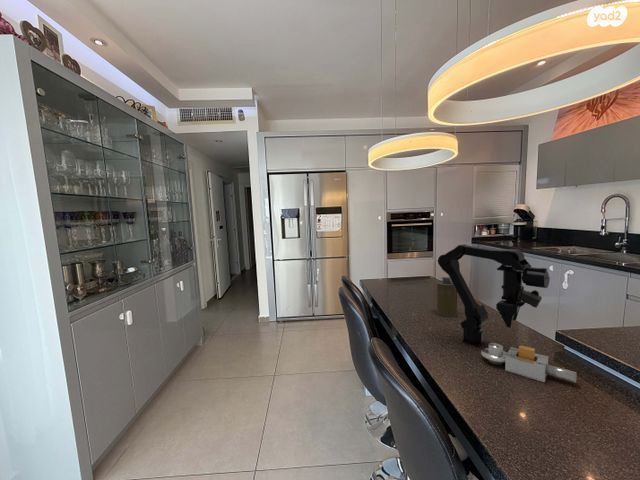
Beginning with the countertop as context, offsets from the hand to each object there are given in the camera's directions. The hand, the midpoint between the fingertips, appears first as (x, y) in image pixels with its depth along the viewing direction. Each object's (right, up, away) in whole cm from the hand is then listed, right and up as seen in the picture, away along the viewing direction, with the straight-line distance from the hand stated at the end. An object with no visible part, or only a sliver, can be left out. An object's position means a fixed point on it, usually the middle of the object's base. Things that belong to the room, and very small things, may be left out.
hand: (511, 323), depth 101 cm
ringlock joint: (-2, -13, -10) cm, 17 cm away
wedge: (-2, -13, -10) cm, 17 cm away
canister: (-3, -9, +46) cm, 46 cm away
